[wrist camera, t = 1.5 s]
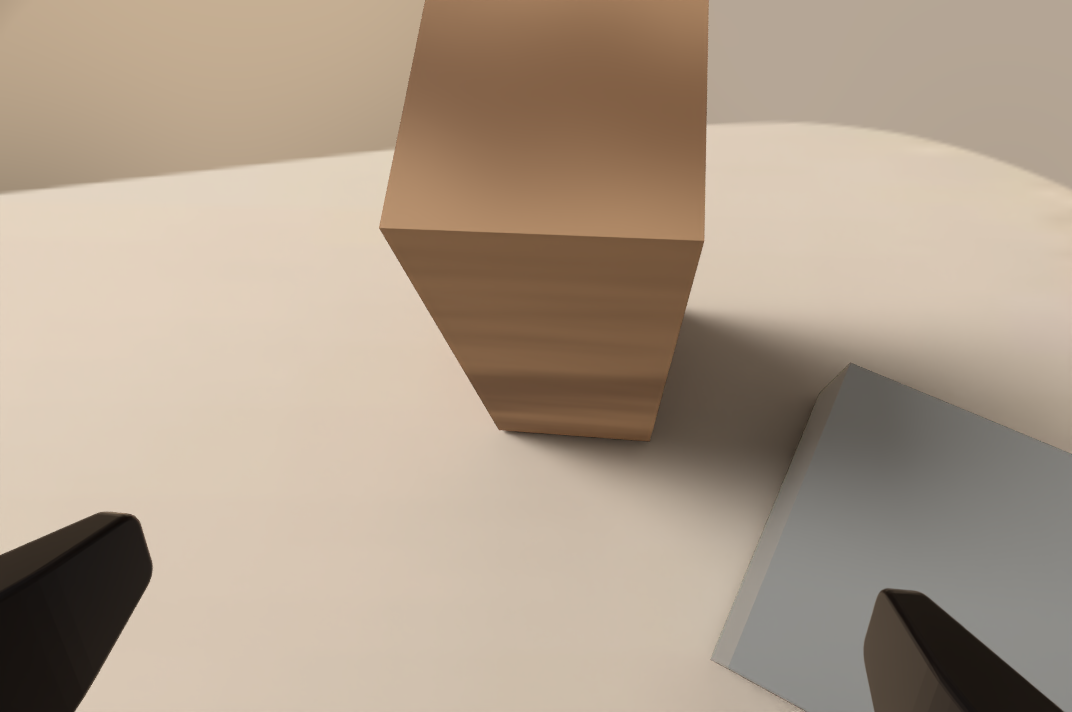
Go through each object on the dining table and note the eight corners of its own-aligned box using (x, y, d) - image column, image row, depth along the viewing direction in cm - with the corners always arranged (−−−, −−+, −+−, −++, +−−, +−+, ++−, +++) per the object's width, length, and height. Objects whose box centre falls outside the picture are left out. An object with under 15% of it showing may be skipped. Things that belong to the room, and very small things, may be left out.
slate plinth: (1037, 837, 18) (1119, 881, 15) (710, 659, 20) (727, 667, 17) (1118, 522, 20) (1202, 508, 17) (819, 393, 22) (850, 362, 19)
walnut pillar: (649, 441, 22) (704, 241, 10) (499, 429, 23) (378, 227, 11) (655, 301, 24) (709, -14, 12) (515, 294, 24) (428, -13, 12)
